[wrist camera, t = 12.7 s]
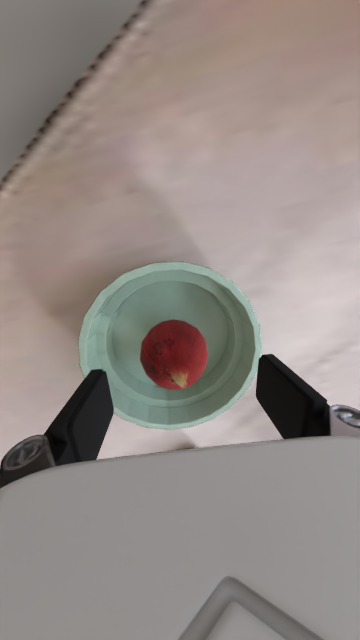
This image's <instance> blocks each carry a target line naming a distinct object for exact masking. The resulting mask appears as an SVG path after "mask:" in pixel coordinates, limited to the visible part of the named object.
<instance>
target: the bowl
mask: <svg viewBox="0 0 360 640" xmlns="http://www.w3.org/2000/svg"><path fill="white" fill-rule="evenodd" d="M173 319H174V320H181V321H185V322H187V323H189V324H191V325H192V326H194V327H196V328H198V330H199V331H200V333H201V334H202V336H203V337H204V338H205V341H206V346H207V351H208V358H207V363H206V368H205V370H204V372H203V373H202V375H201V376H200V378H199V379H198V380H197V381H196V382H195V383H193V384H192V385H191V386H190V387H187V388H184V389H180V390H168V389H165V388H163V387H160V386H158V385H157V384H156V383H155V382H154V381H152V380H151V379H150V378H149V377H148V376H147V375H146V373H145V371H144V369H143V366H142V364H141V362H140V352H141V343H142V341H143V339H144V338H145V336H146V335H147V334H148V332H149V331H150V329H151V328H152V327H154V326H156V325H157V324H159V323H160V322H162V321H167V320H173ZM78 348H79V361H80V368H81V370H82V372H83V375H84V377H85V378H86V376H87V375H88V374H89V372H90V371H91V370H94V369H103V371H106V373H107V378H108V383H109V387H110V392H111V397H112V402H113V407H114V412H113V413H114V414H116V415H117V416H119V417H120V418H122V419H124V420H126V421H129V422H132V423H134V424H137V425H140V426H143V427H146V428H156V429H165V430H171V429H179V428H187V427H190V426H191V427H192V426H195V425H198V424H201V423H203V422H206V421H209V420H211V419H213V418H215V417H216V416H218V415H220V414H221V413H223V412H224V411H226V410H227V409H229V408H230V407H231V406H232V405H233V404H234V403H235V402H236V401H237V400H238V399H239V398H240V397H241V396H242V395H243V394H244V393H245V391H246V390H247V389H248V387H249V385H250V383H251V381H252V379H253V377H254V376H255V374H256V372H257V368H258V362H259V358H260V355H261V350H262V345H261V333H260V324H259V322H258V320H257V317H256V315H255V312H254V310H253V307H252V305H251V303H250V301H249V300H248V299H247V298H246V297H245V296H244V294H243V293H242V292H241V291H240V290H239V289H238V287H237V286H236V285H235V284H234V283H233V282H231V281H230V280H228V279H226V278H225V277H223V276H222V275H220V274H218V273H217V272H215V271H213V270H212V269H209V268H206V267H202V266H198V265H194V264H190V263H186V262H181V261H179V262H163V263H152V264H148V265H145V266H143V267H140V268H137V269H135V270H132V271H129V272H127V273H124V274H122V275H121V276H120V277H118V278H117V279H116V280H115V281H113V282H112V283H111V284H110V285H108V286H107V287H106V288H105V289H103V290H102V291H101V292H100V293H99V294H98V296H97V297H96V299H95V300H94V302H93V303H92V305H91V306H90V308H89V310H88V311H87V313H86V314H85V316H84V319H83V323H82V327H81V331H80V335H79V339H78Z"/></svg>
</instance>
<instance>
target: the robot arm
mask: <svg viewBox="0 0 360 640" xmlns="http://www.w3.org/2000/svg"><path fill="white" fill-rule="evenodd" d="M256 397H257V400H258V401H259V403H260V404H261V406H262V407H263V409H264V410H265V412H266V413H267V415H268V416H269V418H270V419H271V421H272V422H273V424H274V425H275V427H276V428H277V430H278V431H279V433H280V434H281V436H282V437H283V439H280V440H271V441H261V442H251V443H241V444H231V445H222V446H213V447H203V448H194V449H185V450H176V451H167V452H158V453H149V454H141V455H132V456H123V457H115V458H107V459H99V460H96V459H97V456H98V454H99V451H100V448H101V445H102V443H103V440H104V437H105V435H106V432H107V429H108V427H109V424H110V421H111V418H112V416H113V412H114V407H113V402H112V397H111V392H110V387H109V383H108V378H107V373H106V371H103V369H94V370H91V371H90V372H89V374H88V375H87V376H86V378H85V379H84V380H83V382H82V383H81V384H80V386H79V387H78V388H77V390H76V391H75V392H74V394H73V395H72V397H71V398H70V399H69V401H68V402H67V403H66V405H65V406H64V407H63V409H62V410H61V411H60V413H59V414H58V415H57V417H56V418H55V420H54V421H53V422H52V424H51V425H50V426H49V428H48V429H47V431H46V432H45V433H44V435H35V436H31V437H29V438H26V439H24V440H23V441H21V442H19V443H18V444H16V445H15V446H14V447H13V448H11V449H10V450H9V451H8V453H7V454H6V455H5V456H4V458H3V459H2V461H1V465H0V640H360V411H359V410H357V409H355V408H352V407H349V406H345V405H333V406H331V407H330V406H329V405H328V404H327V400H326V399H325V398H324V397H323V396H321V395H320V394H319V393H318V392H317V391H316V390H314V389H313V388H312V387H311V386H310V385H308V384H307V383H306V382H305V381H304V380H303V379H301V378H300V377H299V376H298V375H297V374H295V373H294V372H293V371H292V370H291V369H289V368H288V367H287V366H286V365H285V364H284V363H282V362H281V361H280V360H279V359H278V358H276V357H275V356H274V355H273V354H268V355H262V356H261V357H260V358H259V362H258V374H257V387H256Z"/></svg>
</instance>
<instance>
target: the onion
mask: <svg viewBox="0 0 360 640" xmlns="http://www.w3.org/2000/svg"><path fill="white" fill-rule="evenodd" d="M207 358H208V351H207V346H206V341H205V338H204V337H203V336H202V334H201V333H200V331H199V330H198V328H196V327H194V326H192V325H191V324H189V323H187V322H185V321H181V320H174V319H173V320H167V321H162V322H160V323H159V324H157V325H156V326H154V327H152V328H151V329H150V331H149V332H148V334H147V335H146V336H145V338H144V339H143V341H142V343H141V352H140V362H141V364H142V366H143V369H144V371H145V373H146V375H147V376H148V377H149V378H150V379H151V380H152V381H154V382H155V383H156V384H157V385H158V386H160V387H163V388H165V389H168V390H180V389H184V388H187V387H190V386H191V385H192V384H193V383H195V382H196V381H197V380H198V379H199V378H200V376H201V375H202V373H203V372H204V370H205V368H206V363H207Z"/></svg>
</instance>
